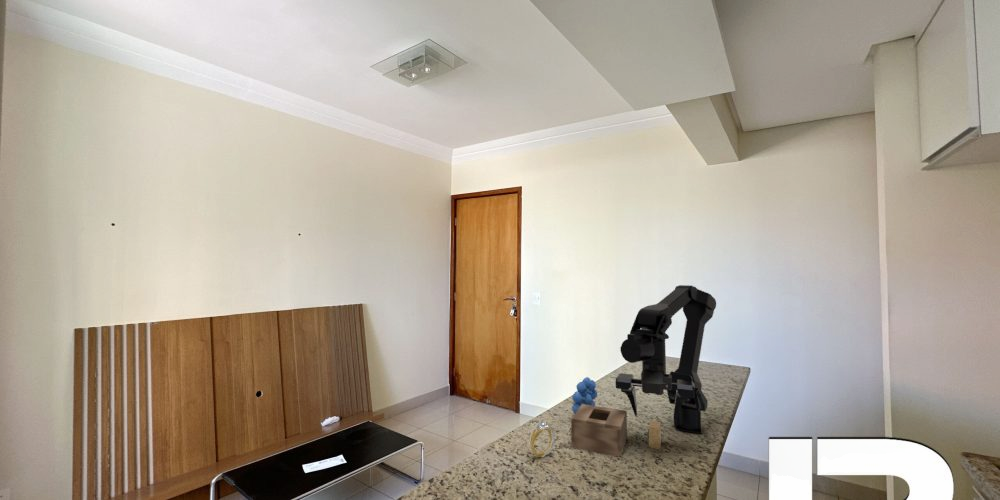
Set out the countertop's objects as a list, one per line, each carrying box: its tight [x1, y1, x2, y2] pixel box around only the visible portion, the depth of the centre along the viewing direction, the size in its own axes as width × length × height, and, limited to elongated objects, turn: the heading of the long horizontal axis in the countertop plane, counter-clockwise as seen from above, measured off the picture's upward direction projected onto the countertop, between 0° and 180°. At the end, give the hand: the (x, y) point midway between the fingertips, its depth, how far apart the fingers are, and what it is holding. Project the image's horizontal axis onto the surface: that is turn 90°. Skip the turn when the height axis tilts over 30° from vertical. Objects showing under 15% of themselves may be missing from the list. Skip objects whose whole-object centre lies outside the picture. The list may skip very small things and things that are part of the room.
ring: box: [528, 420, 556, 458], centre depth 92 cm, size 7×3×8 cm, turn 118°
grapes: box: [571, 376, 598, 415], centre depth 117 cm, size 12×7×12 cm, turn 134°
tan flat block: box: [648, 420, 662, 450], centre depth 99 cm, size 2×5×5 cm, turn 155°
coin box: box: [570, 404, 628, 458], centre depth 100 cm, size 12×12×7 cm
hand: (654, 418), depth 99 cm, fingers open, 9 cm apart
